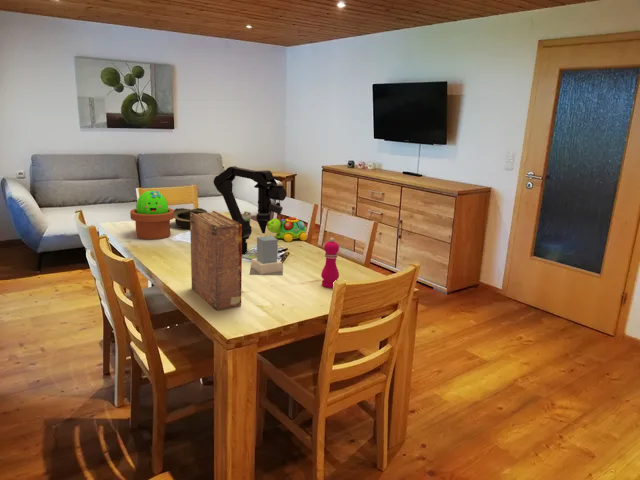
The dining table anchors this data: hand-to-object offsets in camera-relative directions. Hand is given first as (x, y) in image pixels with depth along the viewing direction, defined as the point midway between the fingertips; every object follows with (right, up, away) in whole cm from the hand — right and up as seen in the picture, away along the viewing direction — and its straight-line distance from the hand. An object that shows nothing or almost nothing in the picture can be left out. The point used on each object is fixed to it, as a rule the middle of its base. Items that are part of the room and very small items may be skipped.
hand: (264, 231), depth 227 cm
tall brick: (+3, -13, -18) cm, 23 cm away
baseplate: (+3, -18, -17) cm, 25 cm away
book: (-13, -25, -47) cm, 55 cm away
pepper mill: (+30, -23, -30) cm, 48 cm away
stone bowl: (-49, +4, +58) cm, 76 cm away
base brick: (+3, -17, -17) cm, 24 cm away
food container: (-17, +1, +53) cm, 56 cm away
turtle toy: (+8, -4, +41) cm, 42 cm away
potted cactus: (-63, -2, +33) cm, 71 cm away
